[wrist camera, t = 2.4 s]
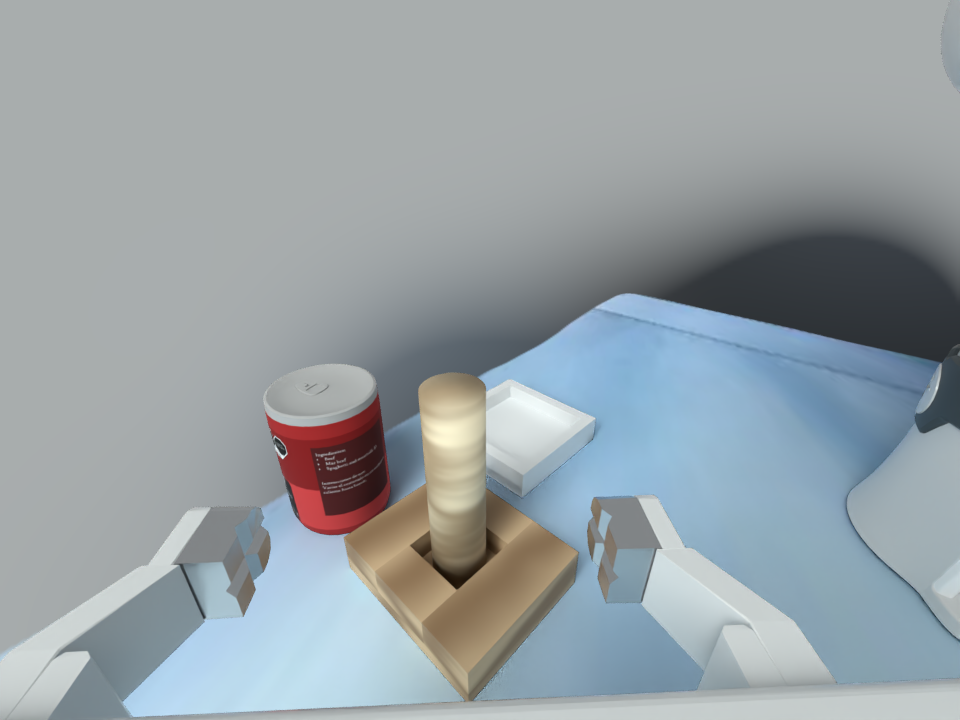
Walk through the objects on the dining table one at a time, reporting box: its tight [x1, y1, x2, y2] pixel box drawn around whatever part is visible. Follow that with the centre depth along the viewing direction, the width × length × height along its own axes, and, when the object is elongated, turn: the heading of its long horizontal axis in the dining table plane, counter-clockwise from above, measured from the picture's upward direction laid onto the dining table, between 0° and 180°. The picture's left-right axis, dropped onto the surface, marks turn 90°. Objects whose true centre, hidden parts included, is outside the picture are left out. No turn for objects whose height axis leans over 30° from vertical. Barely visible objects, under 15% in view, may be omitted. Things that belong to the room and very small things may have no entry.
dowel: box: [418, 373, 486, 589], centre depth 27 cm, size 4×4×14 cm
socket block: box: [344, 484, 579, 701], centre depth 29 cm, size 12×10×5 cm
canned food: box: [263, 364, 391, 535], centre depth 34 cm, size 8×8×11 cm
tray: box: [486, 379, 596, 498], centre depth 43 cm, size 11×11×2 cm
